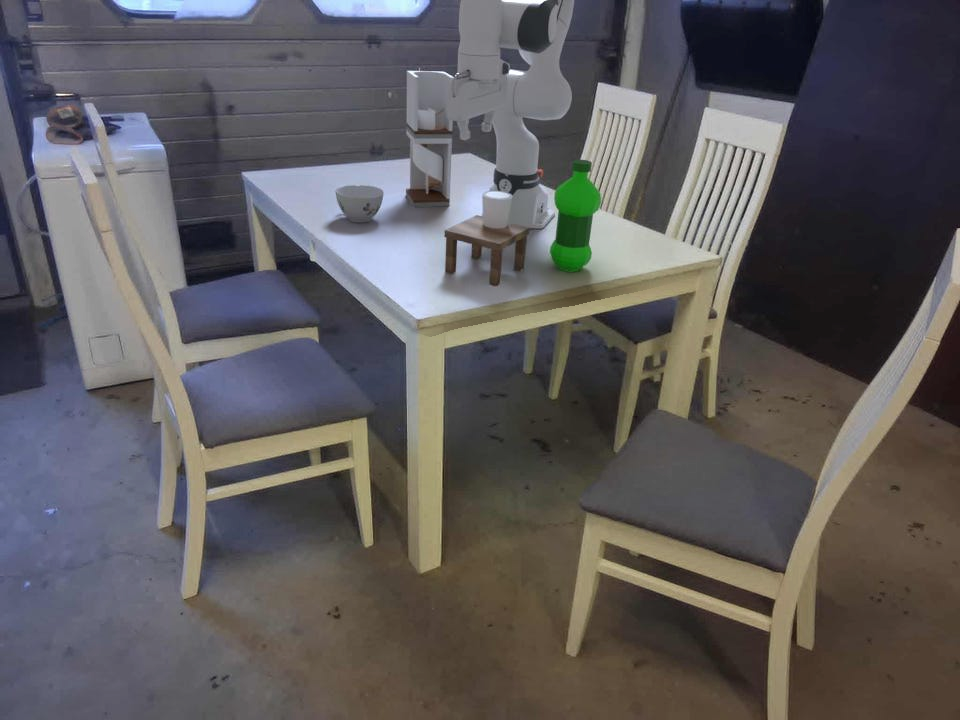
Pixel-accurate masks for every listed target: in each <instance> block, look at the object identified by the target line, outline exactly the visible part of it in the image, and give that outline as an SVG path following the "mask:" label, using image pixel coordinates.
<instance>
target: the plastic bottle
mask: <svg viewBox="0 0 960 720" xmlns="http://www.w3.org/2000/svg"><path fill="white" fill-rule="evenodd" d="M592 166H593V165H592V161H590V160H586V159H574V160H572V163H571V170H572V171H573V173H572V174H573V175H572V177H570V178H568V179H566V180H565V181H564V182H562V184H560V185H558V186H557V188H556V189H555V192H554V199H553V200H554V205H555V208H556V209H557V210H558V212H557V220H556V222H557V223H556V230H555V231H556V232H555V239H554V240H553V242H552V244H551V245H550V248H549V253H550V257H551V261H552V262H553V263H554V265H555V266H556V267H557V268H558V269H559V270H561V271H563V272H569V273H572V272H573V271H575V272H578V271H579V269H580V270H581V269H582V268H583V267H586V266H587V264H588V263H590V261H591V259H592V257H593V256H592V254H593V252H592V248H591V246H590V241H591V240H590V238H591V232H592V225H593V218H594V214H595V213H596V212H598V211H599V209H600V206H601V202H602V197H601V196H602V195H601V192H600V191H599V189H598V188H597V187H596V185H595V184H594V183H593V182H592V181H591V180H590V179H589V178H588V176H589V173H590V172H591V171H592ZM573 273H574V272H573Z"/></svg>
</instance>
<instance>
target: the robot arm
mask: <svg viewBox="0 0 960 720" xmlns="http://www.w3.org/2000/svg"><path fill="white" fill-rule="evenodd" d="M459 4H460V5H459V14H458V31H459V33H458V34H459V39H460V40H459V46H458V50H457V72H456V73H455V75H454V76H453V77H454V78H453V80H452V82H451V83H450V86H449V89H448V97H447V108H446V115H447V117H448V119H449V120H453V122H456V124H457V127H458V130H459V139H460V140H462V141H468V140H470V139H471V133H472V132H471V130H469V126H468V125H469V124H470V119H472V118H476V117H479V116H481V115H484V117H483V118H484V119H483V122H482V123H481V131H482V132H483V133H488V132H491V131H492V126H493V129H494V130H493V131H494V134H495V138H496V161H495V167H494V170H493V174H492V175H493V176H492V177H493V182H492V183H493V185H491V186H489V188H488V191H503V192H507V193H510V194H511V195H512V196H513V197H512V202H511V208H510V213H509V219H508V223H512V224H516V225H521V226H525V227H529V229H538V230H539V229H544V228H545V226H546V225H547V224H548V223H549V222H550V221H551V220H552V219H553V217H554V216H555V215H556V212H555V210H553V209H551V208H548V204H549V203H548V201H549V196H548V193H547V192H545V190H544V189H543V188H542V187H541V186H540V178H542V177H543V175H544V170H543V169H538V164H539V156H540V155H539V154H540V153H539V152H540V143H539V139H538V138H537V137H536V136H535V134H533V133H532V132H531V131H530V130H528V129H527V127H526V126H525V123H524V121H523V119H524V118H525V119H526V118H527V119H533V120H538V121H553V120H560V119H562V118H563V117H564V116H565V115H566V114H567V113H568V111H569V110H570V107H571V105H572V100H573V94H572V89H571V86H570V84H569V81H567V79H566V78H565V77H564V76H563V74H562V71H561V69H560V59H561V54H562V50H563V47H564V43H565V41H566V40H565V39H566V37H567V34H568V31H569V29H570V25H571V22H572V17H573V12H574V7H575V6H574V5H575V0H460V3H459ZM501 48H502V49H511V50H518V52H519V56H521V58H522V59H523V61H525V63H527V64H528V65H529V69H528V70H517V69H511V64H510V63H509V62H508V61H505V60H504V59H502V58H501ZM481 216H483V212H482V215H481Z"/></svg>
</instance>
